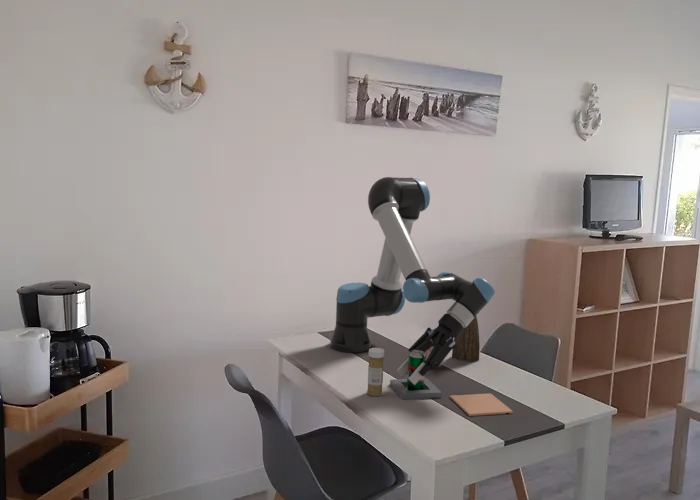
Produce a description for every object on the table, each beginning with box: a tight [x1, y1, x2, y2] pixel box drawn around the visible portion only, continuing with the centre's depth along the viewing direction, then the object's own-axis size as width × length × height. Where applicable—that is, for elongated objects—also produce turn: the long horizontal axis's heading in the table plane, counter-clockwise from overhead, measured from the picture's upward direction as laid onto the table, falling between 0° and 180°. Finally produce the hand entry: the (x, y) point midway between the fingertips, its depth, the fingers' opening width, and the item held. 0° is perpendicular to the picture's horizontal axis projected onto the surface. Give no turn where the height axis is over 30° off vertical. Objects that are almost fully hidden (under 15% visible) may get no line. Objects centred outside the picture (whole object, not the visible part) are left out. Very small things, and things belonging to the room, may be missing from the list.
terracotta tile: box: [449, 393, 514, 417], centre depth 163 cm, size 13×13×1 cm
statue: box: [451, 315, 480, 362], centre depth 204 cm, size 9×8×25 cm
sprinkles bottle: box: [366, 347, 385, 397], centre depth 167 cm, size 5×5×13 cm
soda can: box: [406, 350, 426, 391], centre depth 171 cm, size 5×5×12 cm
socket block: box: [389, 377, 443, 400], centre depth 172 cm, size 12×12×2 cm
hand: (405, 377), depth 170 cm, fingers open, 6 cm apart
